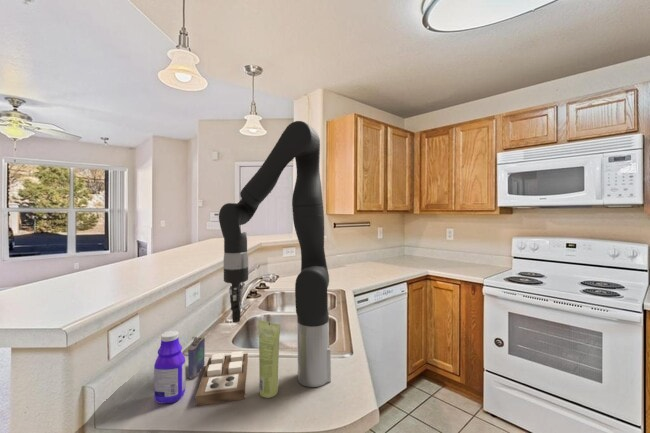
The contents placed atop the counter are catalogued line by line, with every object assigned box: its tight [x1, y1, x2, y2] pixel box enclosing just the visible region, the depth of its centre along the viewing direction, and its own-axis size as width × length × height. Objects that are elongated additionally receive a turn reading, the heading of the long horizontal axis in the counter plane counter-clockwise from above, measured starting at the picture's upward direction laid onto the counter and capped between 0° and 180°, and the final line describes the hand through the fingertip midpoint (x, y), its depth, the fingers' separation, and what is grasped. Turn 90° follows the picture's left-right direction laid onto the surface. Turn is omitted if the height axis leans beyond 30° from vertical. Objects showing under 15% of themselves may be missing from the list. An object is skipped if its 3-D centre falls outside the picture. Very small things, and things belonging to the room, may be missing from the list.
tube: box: [257, 319, 281, 399], centre depth 79 cm, size 6×5×20 cm
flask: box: [187, 336, 206, 380], centre depth 90 cm, size 9×3×11 cm, turn 4°
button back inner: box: [230, 350, 244, 362], centre depth 92 cm, size 4×4×2 cm
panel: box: [195, 352, 249, 407], centre depth 85 cm, size 12×20×3 cm, turn 13°
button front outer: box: [207, 363, 222, 377], centre depth 85 cm, size 4×4×2 cm
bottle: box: [153, 330, 186, 404], centre depth 77 cm, size 7×6×17 cm
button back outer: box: [211, 352, 226, 364], centre depth 91 cm, size 4×4×2 cm
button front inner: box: [228, 361, 242, 374], centre depth 86 cm, size 4×4×2 cm
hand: (236, 319), depth 92 cm, fingers open, 2 cm apart
